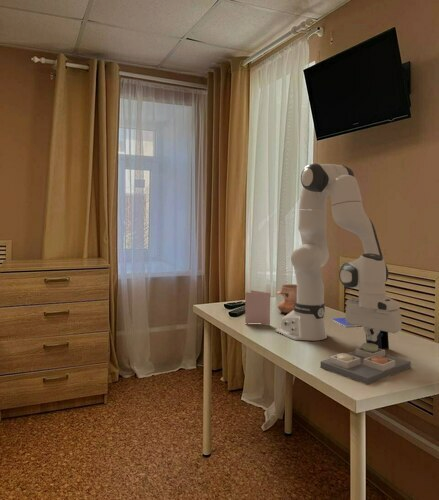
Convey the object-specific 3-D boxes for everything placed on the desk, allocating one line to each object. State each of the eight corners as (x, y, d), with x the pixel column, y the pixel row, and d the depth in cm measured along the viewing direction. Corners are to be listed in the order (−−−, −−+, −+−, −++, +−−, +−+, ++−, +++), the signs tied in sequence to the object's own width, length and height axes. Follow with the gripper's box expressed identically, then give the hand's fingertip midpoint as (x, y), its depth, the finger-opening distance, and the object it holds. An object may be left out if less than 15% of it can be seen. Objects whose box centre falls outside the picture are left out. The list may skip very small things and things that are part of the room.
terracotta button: (367, 364, 138) (367, 358, 137) (376, 361, 141) (376, 355, 140) (381, 368, 134) (381, 362, 133) (390, 365, 137) (390, 359, 136)
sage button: (359, 350, 148) (359, 344, 148) (368, 347, 151) (368, 342, 151) (372, 354, 144) (372, 348, 144) (380, 351, 147) (381, 345, 147)
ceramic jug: (279, 316, 212) (280, 288, 211) (273, 309, 227) (273, 283, 225) (314, 316, 214) (315, 288, 213) (305, 309, 229) (306, 283, 227)
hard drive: (361, 323, 194) (347, 317, 206) (345, 324, 192) (332, 318, 204) (361, 327, 194) (347, 320, 206) (345, 328, 192) (332, 321, 205)
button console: (320, 367, 141) (320, 355, 141) (363, 353, 156) (364, 342, 155) (367, 384, 127) (367, 371, 127) (410, 367, 141) (410, 355, 141)
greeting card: (271, 324, 196) (271, 293, 195) (261, 328, 191) (261, 295, 189) (251, 320, 204) (252, 289, 203) (241, 323, 199) (242, 292, 197)
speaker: (380, 343, 166) (379, 318, 165) (389, 349, 161) (388, 323, 159) (362, 347, 165) (361, 321, 163) (371, 352, 159) (370, 326, 157)
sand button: (333, 361, 140) (334, 356, 140) (343, 358, 143) (343, 353, 143) (346, 366, 136) (346, 360, 136) (356, 363, 139) (356, 357, 139)
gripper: (341, 298, 152) (341, 335, 153) (394, 306, 136) (393, 349, 137) (352, 295, 156) (351, 332, 157) (404, 304, 140) (404, 345, 141)
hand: (371, 340), depth 147 cm, fingers closed
